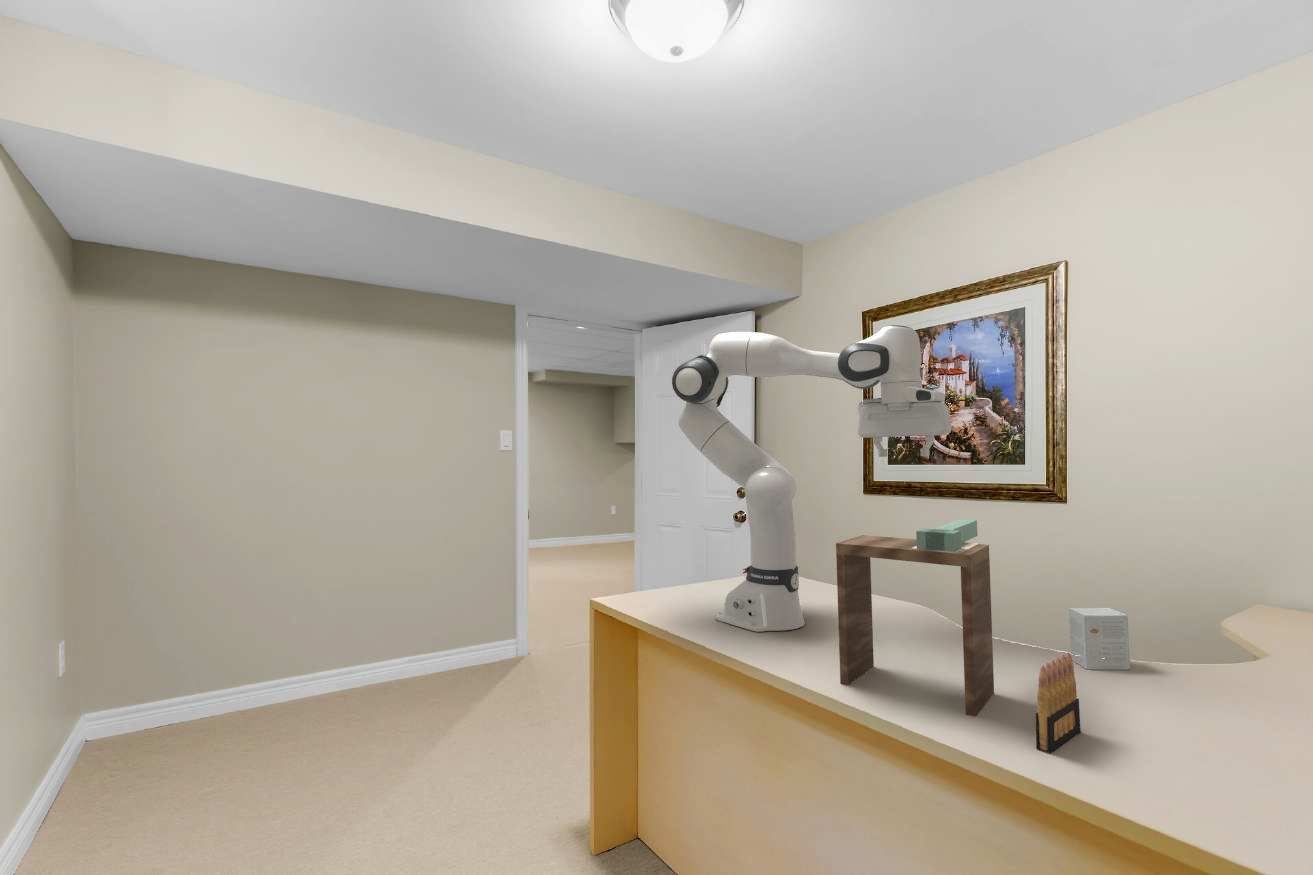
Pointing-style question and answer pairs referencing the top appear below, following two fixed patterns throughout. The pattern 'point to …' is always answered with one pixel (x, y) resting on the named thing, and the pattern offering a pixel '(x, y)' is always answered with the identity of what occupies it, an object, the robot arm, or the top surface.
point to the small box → (1099, 638)
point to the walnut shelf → (859, 607)
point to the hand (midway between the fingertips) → (903, 456)
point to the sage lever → (947, 535)
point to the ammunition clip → (1057, 705)
